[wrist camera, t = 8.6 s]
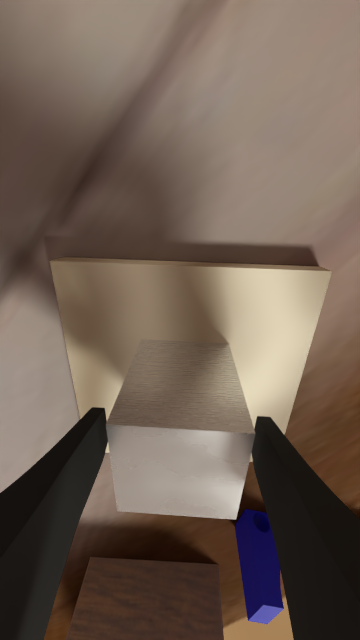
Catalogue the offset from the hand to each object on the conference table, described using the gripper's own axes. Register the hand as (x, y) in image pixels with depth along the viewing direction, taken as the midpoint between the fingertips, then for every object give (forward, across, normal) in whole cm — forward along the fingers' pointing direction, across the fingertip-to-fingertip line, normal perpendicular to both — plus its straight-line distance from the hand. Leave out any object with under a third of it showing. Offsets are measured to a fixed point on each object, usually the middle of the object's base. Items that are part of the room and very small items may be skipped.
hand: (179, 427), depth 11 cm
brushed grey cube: (+3, 0, 0) cm, 4 cm away
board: (+5, 0, 0) cm, 5 cm away
